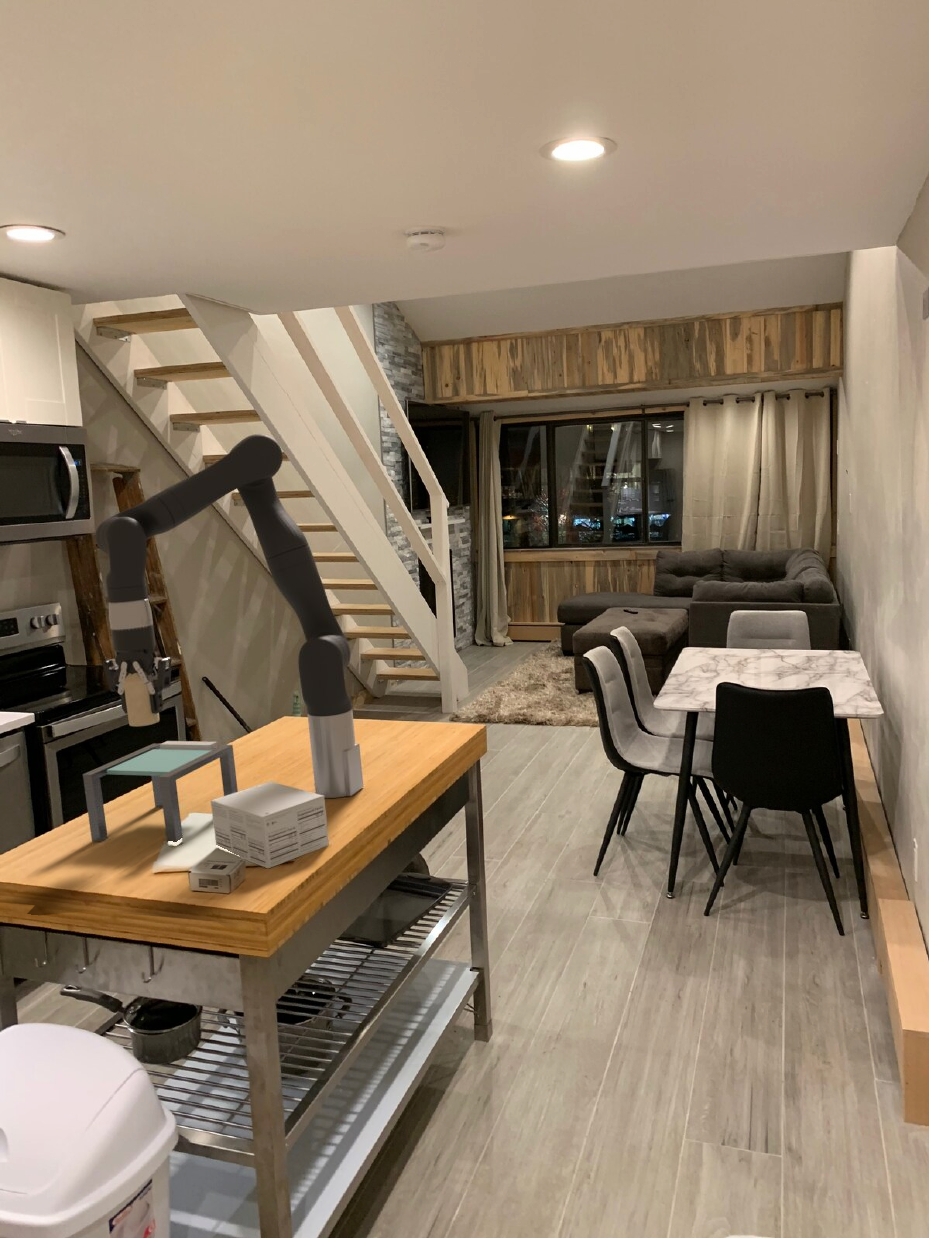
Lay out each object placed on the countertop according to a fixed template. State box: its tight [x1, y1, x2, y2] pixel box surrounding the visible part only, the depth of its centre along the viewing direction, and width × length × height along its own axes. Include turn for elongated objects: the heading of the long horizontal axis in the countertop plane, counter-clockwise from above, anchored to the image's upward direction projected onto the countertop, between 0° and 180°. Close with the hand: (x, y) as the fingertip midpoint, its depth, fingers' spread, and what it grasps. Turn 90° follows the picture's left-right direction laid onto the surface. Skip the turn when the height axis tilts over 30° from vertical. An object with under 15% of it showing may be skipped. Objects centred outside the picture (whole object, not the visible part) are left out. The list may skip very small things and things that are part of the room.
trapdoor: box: [107, 740, 219, 777], centre depth 182 cm, size 17×14×2 cm
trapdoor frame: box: [82, 742, 239, 843], centre depth 181 cm, size 21×19×13 cm
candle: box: [123, 673, 160, 727], centre depth 175 cm, size 6×6×10 cm
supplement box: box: [210, 781, 330, 869], centre depth 165 cm, size 17×13×9 cm
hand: (143, 712), depth 175 cm, fingers closed on candle, 5 cm apart
